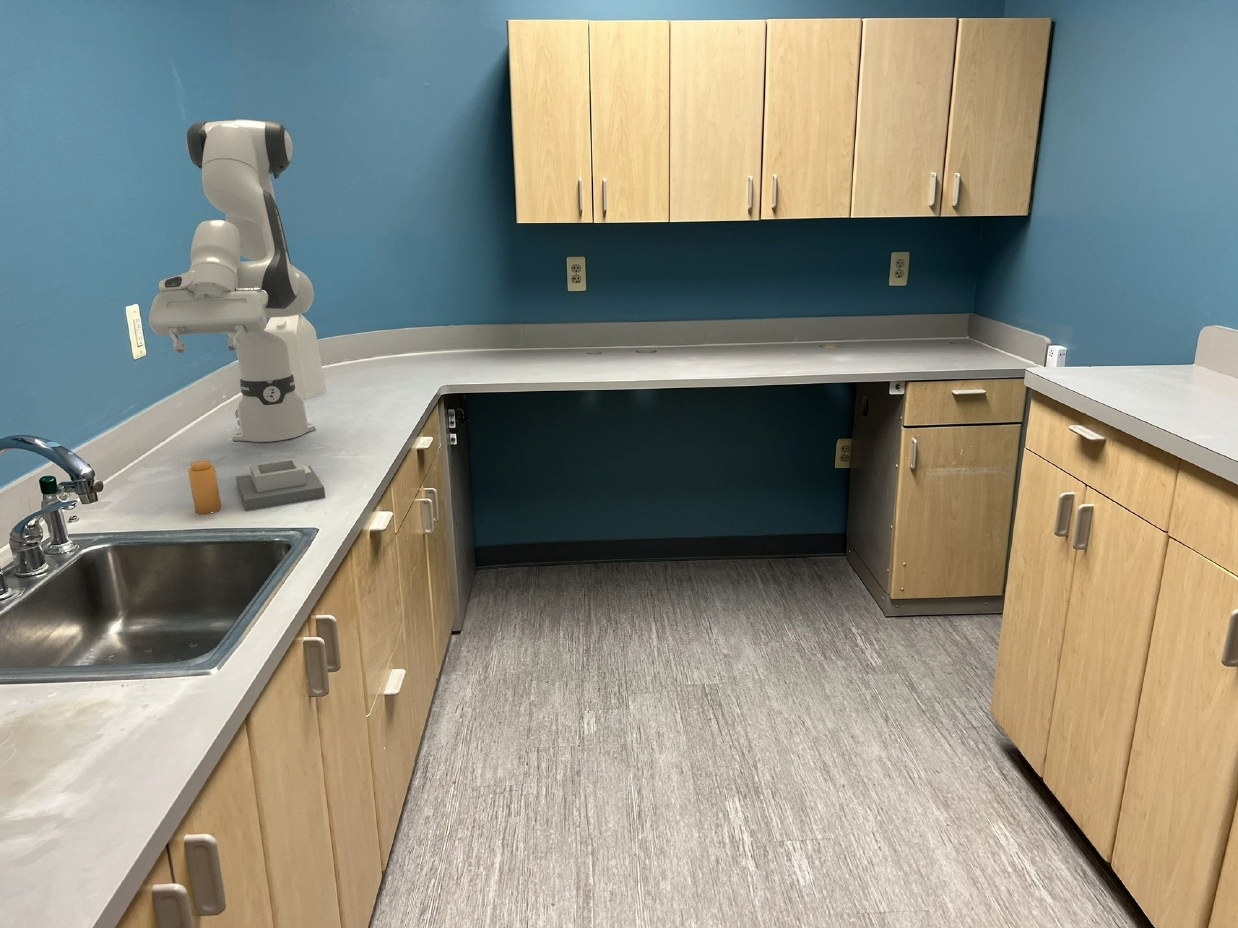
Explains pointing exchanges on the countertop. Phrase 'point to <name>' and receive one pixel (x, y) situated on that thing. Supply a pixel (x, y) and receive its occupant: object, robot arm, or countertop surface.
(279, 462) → the plate
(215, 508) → the orange bottle
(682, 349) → the countertop surface
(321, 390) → the milk
